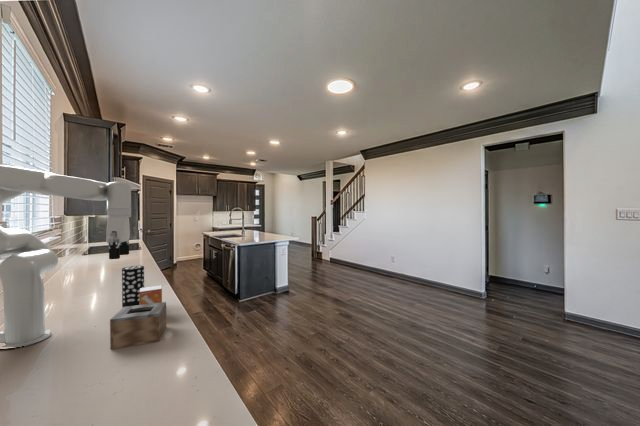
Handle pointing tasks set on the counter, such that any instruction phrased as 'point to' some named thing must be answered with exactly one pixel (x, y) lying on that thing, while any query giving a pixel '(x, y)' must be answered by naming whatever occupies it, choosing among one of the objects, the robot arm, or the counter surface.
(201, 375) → the counter surface
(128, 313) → the coin box
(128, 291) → the white-spotted black cylinder
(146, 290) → the small box
